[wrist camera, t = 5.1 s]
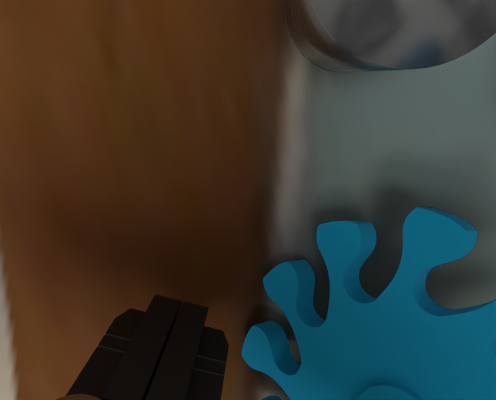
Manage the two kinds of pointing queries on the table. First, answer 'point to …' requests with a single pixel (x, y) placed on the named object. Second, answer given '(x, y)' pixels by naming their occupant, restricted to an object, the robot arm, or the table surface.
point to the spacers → (388, 32)
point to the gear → (378, 322)
